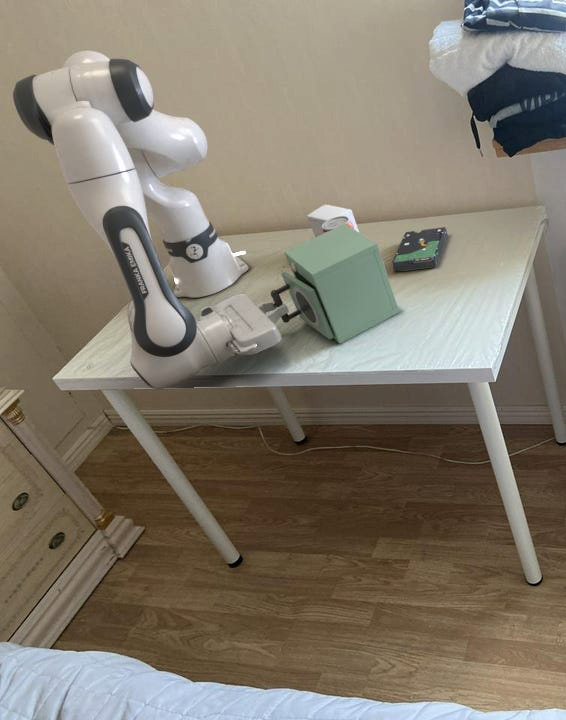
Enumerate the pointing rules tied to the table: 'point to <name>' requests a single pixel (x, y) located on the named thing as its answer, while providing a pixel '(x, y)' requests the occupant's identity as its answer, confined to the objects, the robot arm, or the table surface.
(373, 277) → the washer
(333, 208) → the cosmetics box
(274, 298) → the door
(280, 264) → the table surface
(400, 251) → the disk drive
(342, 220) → the soda can
